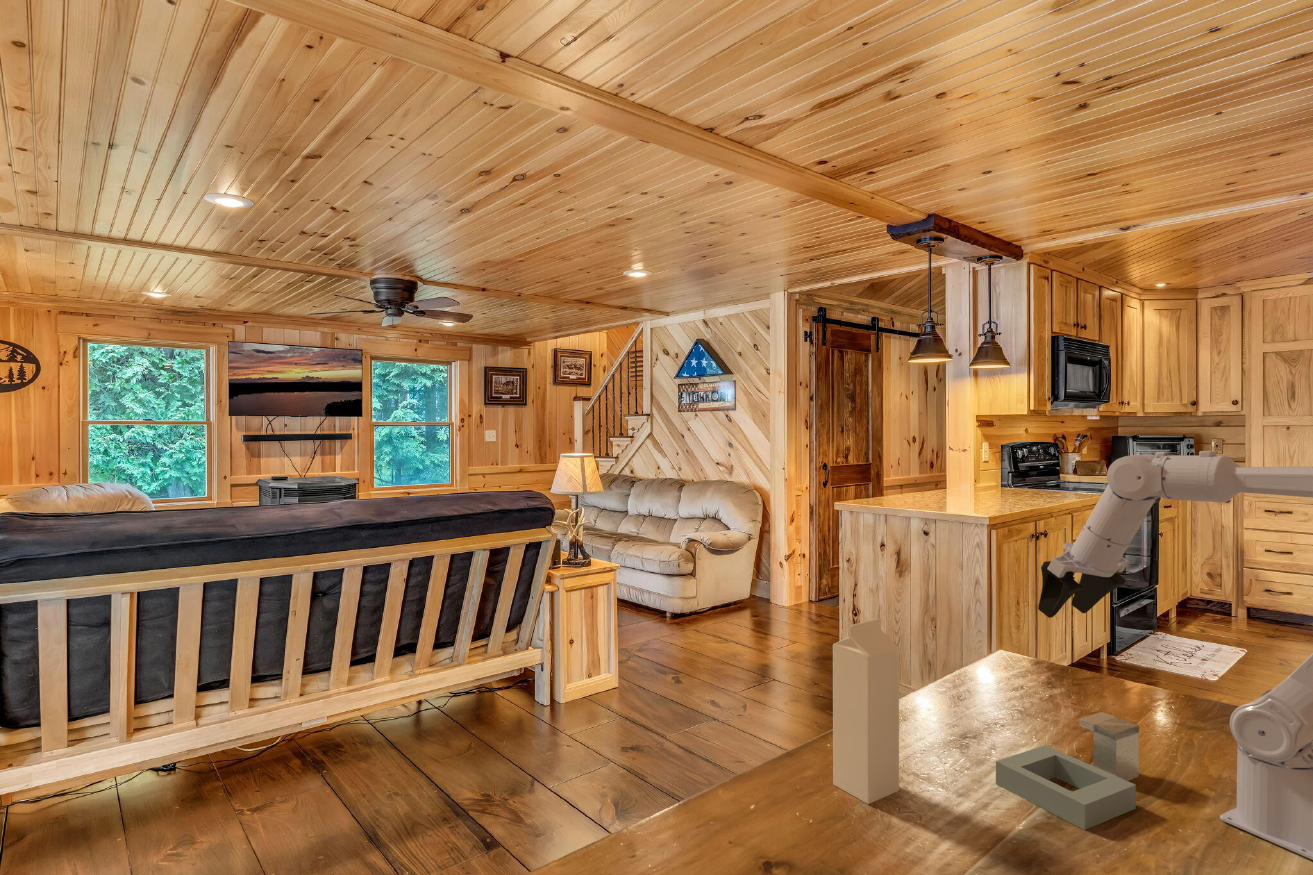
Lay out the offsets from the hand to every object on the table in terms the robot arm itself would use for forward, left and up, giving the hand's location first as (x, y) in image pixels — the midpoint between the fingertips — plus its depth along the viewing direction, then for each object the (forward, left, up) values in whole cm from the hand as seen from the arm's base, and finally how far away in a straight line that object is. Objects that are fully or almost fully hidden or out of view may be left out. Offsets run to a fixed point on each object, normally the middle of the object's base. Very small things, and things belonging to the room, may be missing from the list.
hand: (1061, 611), depth 104 cm
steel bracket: (-9, +1, -20) cm, 22 cm away
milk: (+4, +33, -20) cm, 39 cm away
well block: (-9, +12, -20) cm, 25 cm away
